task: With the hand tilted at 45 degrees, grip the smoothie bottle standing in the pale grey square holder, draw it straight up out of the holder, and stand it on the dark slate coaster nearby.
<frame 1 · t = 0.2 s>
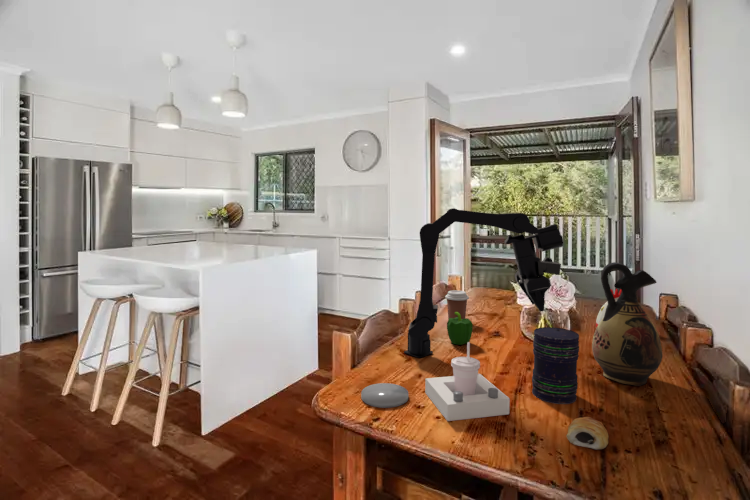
hand: (538, 307, 120), 15 cm above the table, tool pointing down, fingers open, 9 cm apart
ceramic jug: (620, 378, 108), on the table
smoothie: (464, 403, 94), resting in holder
coffee cup: (456, 322, 164), on the table
coaster: (384, 396, 97), on the table
holder: (464, 402, 94), on the table
pastry: (586, 440, 79), on the table
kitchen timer: (617, 329, 154), on the table
bell pepper: (459, 343, 137), on the table
storage jar: (553, 395, 98), on the table
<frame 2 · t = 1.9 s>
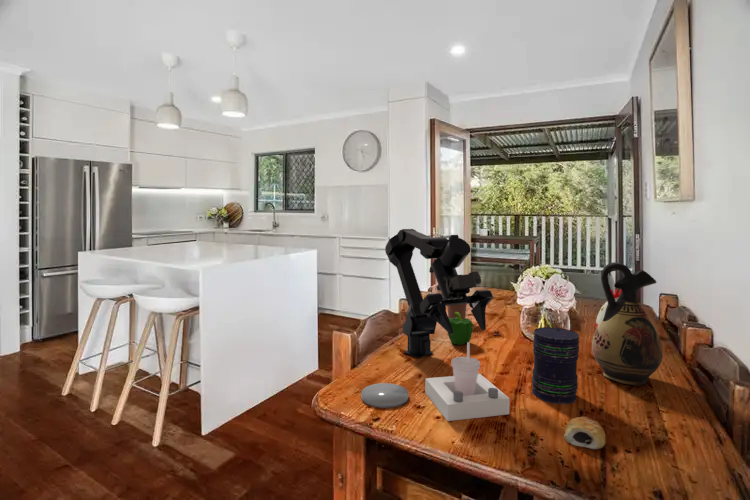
hand: (468, 332, 101), 14 cm above the table, tool tilted 40°, fingers open, 9 cm apart
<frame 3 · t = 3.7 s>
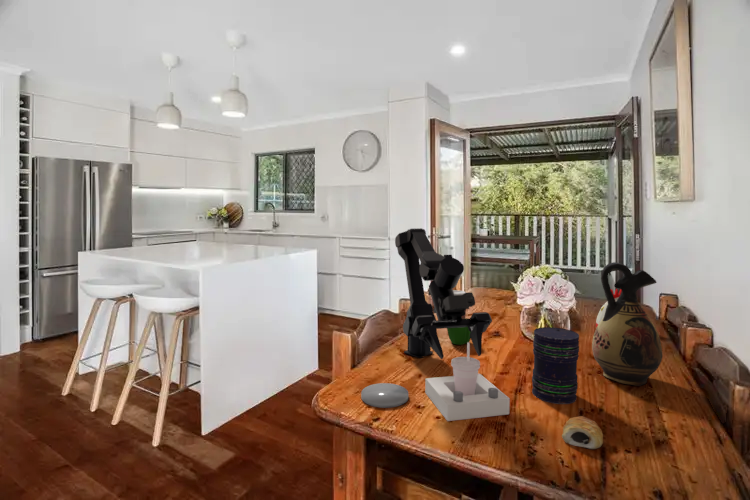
hand: (461, 356, 95), 10 cm above the table, tool tilted 45°, fingers open, 9 cm apart
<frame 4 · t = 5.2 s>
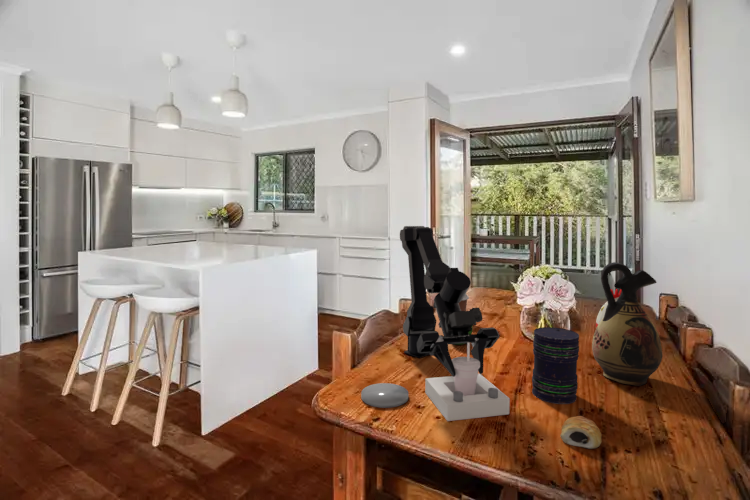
hand: (468, 374, 92), 7 cm above the table, tool tilted 45°, fingers closed on smoothie, 6 cm apart
smoothie: (464, 403, 94), resting in holder, touching gripper
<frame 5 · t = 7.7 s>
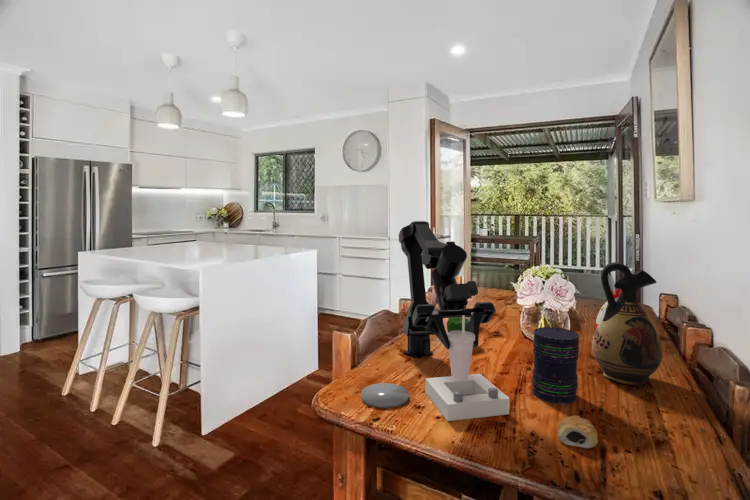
hand: (462, 347, 91), 13 cm above the table, tool tilted 45°, fingers closed on smoothie, 6 cm apart
smoothie: (459, 377, 93), point 6 cm above the table, touching gripper
when the fingers open (9 cm above the table, at t = 10.6 s): smoothie drops 1 cm, resting on coaster.
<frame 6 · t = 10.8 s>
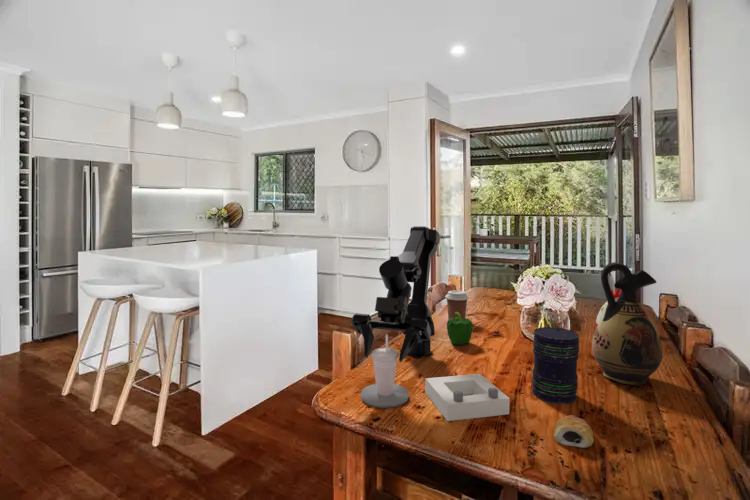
hand: (382, 359, 95), 10 cm above the table, tool tilted 45°, fingers open, 8 cm apart
smoothie: (385, 393, 97), point 1 cm above the table, touching coaster
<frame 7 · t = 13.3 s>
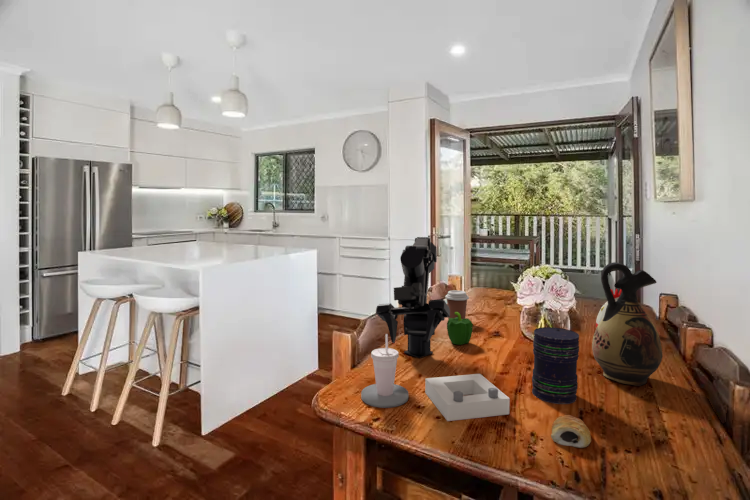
hand: (409, 341, 104), 11 cm above the table, tool tilted 35°, fingers open, 9 cm apart
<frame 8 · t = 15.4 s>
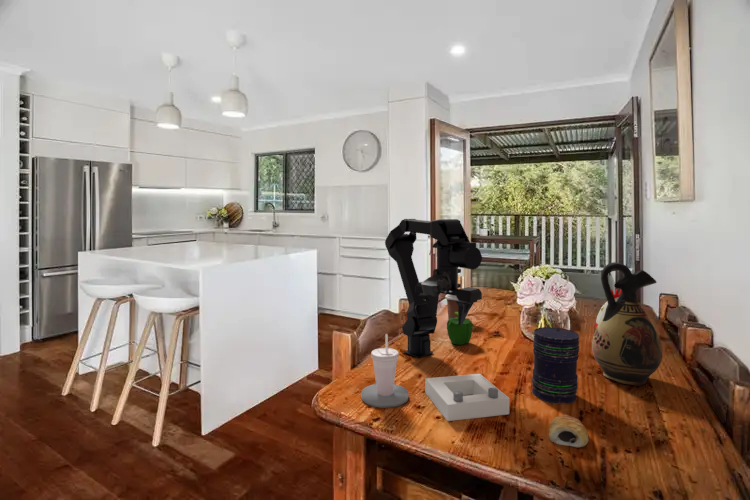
hand: (446, 321, 114), 13 cm above the table, tool pointing down, fingers open, 9 cm apart
at the end: smoothie 0.1 cm off-centre on the coaster, point 0.8 cm above the coaster's base; smoothie tilted 0°; the gripper is holding nothing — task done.
